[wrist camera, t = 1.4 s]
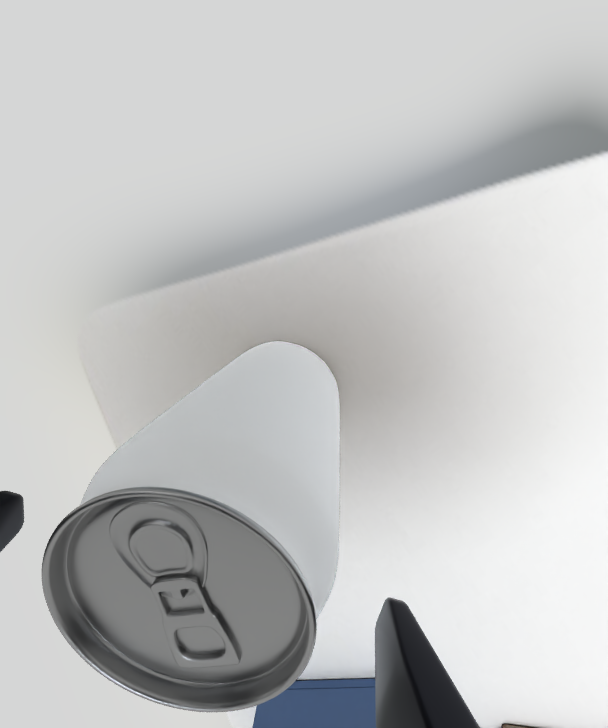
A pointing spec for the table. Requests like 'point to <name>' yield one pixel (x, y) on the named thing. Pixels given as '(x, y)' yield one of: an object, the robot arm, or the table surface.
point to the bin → (321, 705)
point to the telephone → (513, 726)
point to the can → (209, 539)
